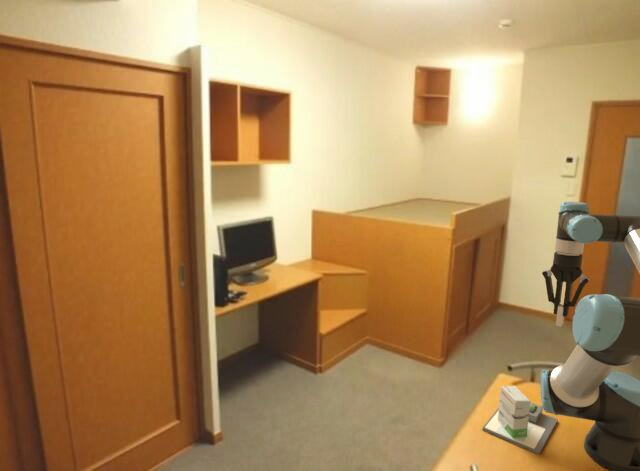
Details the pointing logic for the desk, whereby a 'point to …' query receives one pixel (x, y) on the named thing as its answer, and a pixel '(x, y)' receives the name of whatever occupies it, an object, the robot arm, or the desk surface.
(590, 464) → the desk surface
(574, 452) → the desk surface
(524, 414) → the ink box
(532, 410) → the button
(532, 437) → the colouring board
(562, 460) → the desk surface
